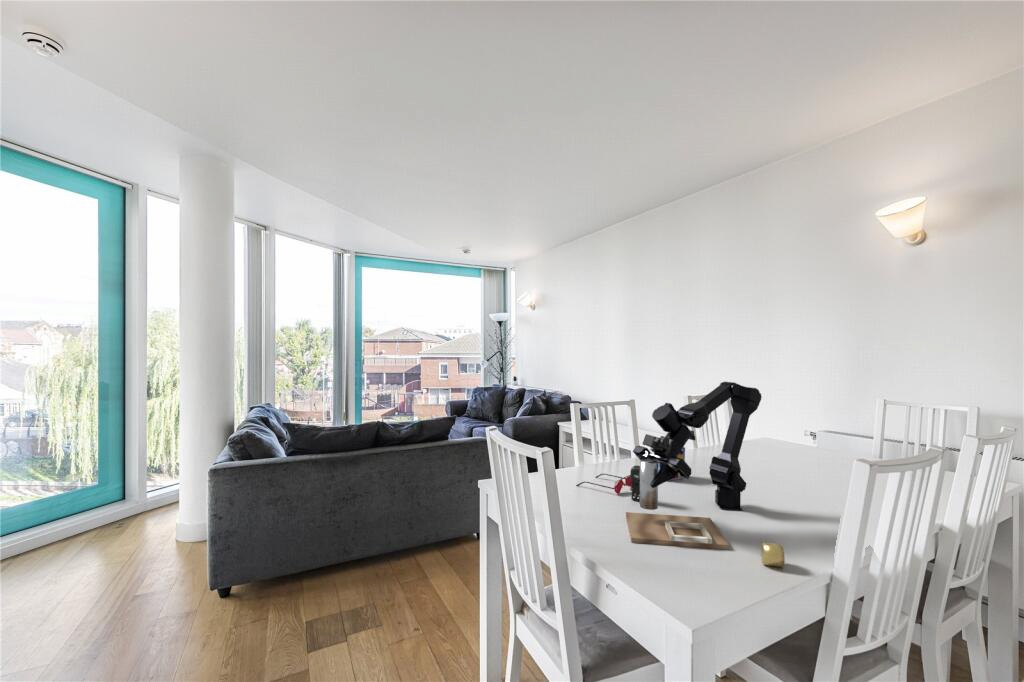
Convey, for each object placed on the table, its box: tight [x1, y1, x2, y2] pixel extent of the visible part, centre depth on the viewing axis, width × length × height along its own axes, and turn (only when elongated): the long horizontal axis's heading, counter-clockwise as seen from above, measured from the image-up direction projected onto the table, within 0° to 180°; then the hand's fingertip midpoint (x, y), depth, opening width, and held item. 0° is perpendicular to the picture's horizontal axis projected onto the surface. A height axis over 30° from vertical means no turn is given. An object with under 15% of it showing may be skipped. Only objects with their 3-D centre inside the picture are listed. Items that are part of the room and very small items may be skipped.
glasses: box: [575, 473, 632, 495], centre depth 166 cm, size 14×16×5 cm
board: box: [625, 512, 730, 551], centre depth 127 cm, size 24×18×2 cm
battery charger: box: [629, 464, 640, 503], centre depth 151 cm, size 7×4×11 cm, turn 56°
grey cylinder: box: [639, 459, 659, 511], centre depth 132 cm, size 5×5×13 cm
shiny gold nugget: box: [760, 541, 786, 568], centre depth 108 cm, size 5×5×4 cm
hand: (645, 484), depth 131 cm, fingers closed on grey cylinder, 5 cm apart
